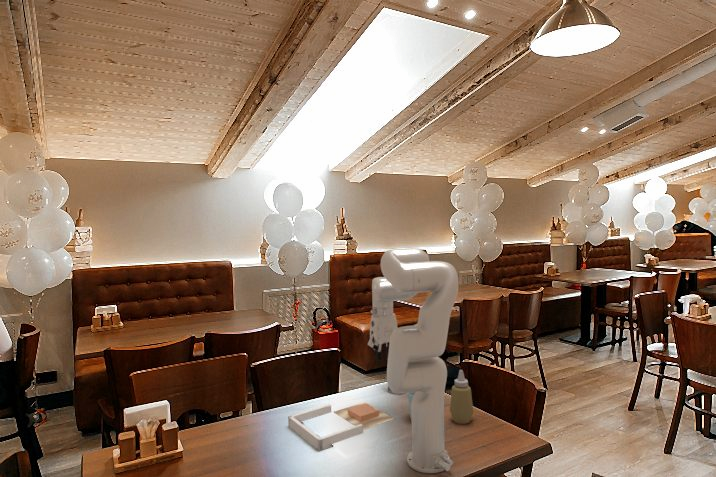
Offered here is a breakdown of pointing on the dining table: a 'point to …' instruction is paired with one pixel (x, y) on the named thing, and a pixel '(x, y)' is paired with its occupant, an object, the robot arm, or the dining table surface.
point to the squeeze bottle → (461, 400)
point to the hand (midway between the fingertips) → (384, 359)
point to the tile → (363, 412)
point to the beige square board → (367, 423)
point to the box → (314, 439)
